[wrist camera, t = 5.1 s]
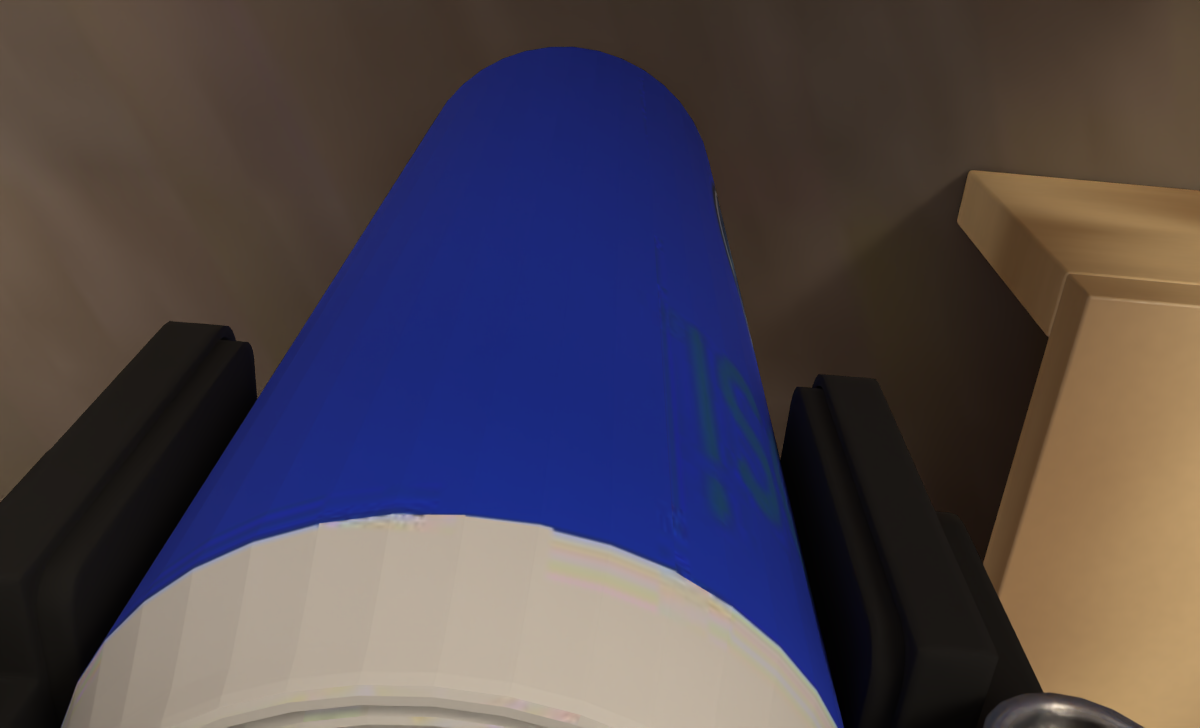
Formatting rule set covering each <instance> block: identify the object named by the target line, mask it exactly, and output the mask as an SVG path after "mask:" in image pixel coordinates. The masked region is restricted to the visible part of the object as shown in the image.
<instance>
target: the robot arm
mask: <svg viewBox="0 0 1200 728" xmlns="http://www.w3.org/2000/svg"><path fill="white" fill-rule="evenodd" d="M256 400H257V392H256V379H255V365H254V355H253V350H252V347H251V345H250V344H249V342H241V341H236V340H235V336H234V334H233V331H232V330H231V328H230V327H229V326H222V325H209V324H197V323H185V322H173V321H169V322H168V323H166V324H165V325H164V326H163V327H162V328H161V329H160V330H159V331H158V332H157V333H156V334H155V335H154V337H153V338H152V339H151V340H150V341H149V342H148V343H147V344H146V345H145V346H144V347H143V349H142V350H141V351H140V352H139V353H138V354H137V355H136V356H135V357H134V358H133V360H132V361H131V362H130V363H129V364H128V365H127V366H126V367H125V368H124V369H123V370H122V372H121V373H120V374H119V375H118V376H117V377H116V378H115V379H114V380H113V381H112V382H111V384H110V385H109V386H108V387H107V388H106V389H105V390H104V391H103V392H102V393H101V395H100V396H99V397H98V398H97V399H96V400H95V401H94V402H93V403H92V404H91V405H90V407H89V408H88V409H87V410H86V411H85V412H84V413H83V414H82V415H81V416H80V417H79V419H78V420H77V421H76V422H75V423H74V424H73V425H72V426H71V427H70V428H69V430H68V431H67V432H66V433H65V434H64V435H63V436H62V437H61V438H60V439H59V440H58V442H57V443H56V444H55V445H54V446H53V447H52V448H51V449H50V450H49V451H48V452H46V453H45V455H44V456H43V457H42V458H41V459H40V460H39V461H38V462H37V463H36V464H35V465H34V467H33V468H32V469H31V470H30V471H29V472H28V473H27V474H26V475H25V476H24V477H23V479H22V480H21V481H20V482H19V483H18V484H17V485H16V486H15V487H14V488H13V489H12V491H11V492H10V493H9V494H8V495H7V496H6V497H5V498H4V499H3V500H2V501H1V503H0V728H61V725H62V723H63V720H64V717H65V714H66V712H67V709H68V706H69V704H70V701H71V698H72V696H73V693H74V690H75V687H76V685H77V682H78V680H79V678H80V677H81V675H82V674H83V672H84V670H85V669H86V667H87V666H88V664H89V663H90V661H91V659H92V658H93V656H94V655H95V653H96V652H97V650H98V648H99V647H100V645H101V644H102V642H103V641H104V639H105V638H106V636H107V634H108V633H109V631H110V630H111V628H112V627H113V625H114V623H115V622H116V620H117V619H118V617H119V616H120V614H121V612H122V611H123V609H124V608H125V606H126V605H127V603H128V601H129V600H130V598H131V597H132V595H133V594H134V592H135V590H136V589H137V587H138V586H139V584H140V583H141V581H142V579H143V578H144V576H145V575H146V573H147V572H148V570H149V568H150V567H151V565H152V564H153V562H154V561H155V559H156V557H157V556H158V554H159V553H160V551H161V550H162V548H163V546H164V545H165V543H166V542H167V540H168V539H169V537H170V535H171V534H172V532H173V531H174V529H175V528H176V526H177V524H178V523H179V521H180V520H181V518H182V517H183V515H184V513H185V512H186V510H187V509H188V507H189V506H190V504H191V502H192V501H193V499H194V498H195V496H196V495H197V493H198V491H199V490H200V488H201V487H202V485H203V484H204V482H205V481H206V479H207V477H208V476H209V474H210V473H211V471H212V470H213V468H214V466H215V465H216V463H217V462H218V460H219V459H220V457H221V455H222V454H223V452H224V451H225V449H226V448H227V446H228V444H229V443H230V441H231V440H232V438H233V437H234V435H235V433H236V432H237V430H238V429H239V427H240V426H241V424H242V422H243V421H244V419H245V418H246V416H247V415H248V413H249V411H250V410H251V408H252V407H253V405H254V404H255V402H256ZM780 461H781V466H782V470H783V474H784V478H785V482H786V487H787V491H788V495H789V499H790V503H791V508H792V512H793V516H794V520H795V524H796V529H797V533H798V537H799V541H800V545H801V550H802V554H803V558H804V562H805V566H806V571H807V575H808V579H809V583H810V587H811V591H812V596H813V600H814V604H815V608H816V612H817V617H818V621H819V625H820V629H821V633H822V638H823V642H824V646H825V650H826V654H827V659H828V663H829V667H830V671H831V675H832V680H833V684H834V688H835V692H836V696H837V701H838V705H839V709H840V713H841V717H842V721H843V726H844V728H1144V727H1143V726H1141V725H1139V724H1138V723H1136V722H1134V721H1132V720H1131V719H1129V718H1127V717H1126V716H1124V715H1122V714H1120V713H1119V712H1117V711H1115V710H1113V709H1111V708H1108V707H1105V706H1103V705H1100V704H1097V703H1095V702H1092V701H1089V700H1086V699H1084V698H1080V697H1075V696H1069V695H1063V694H1058V693H1052V692H1046V693H1044V692H1043V690H1042V688H1041V686H1040V684H1039V682H1038V679H1037V677H1036V675H1035V673H1034V671H1033V669H1032V667H1031V665H1030V663H1029V660H1028V658H1027V656H1026V654H1025V652H1024V650H1023V648H1022V646H1021V644H1020V641H1019V639H1018V637H1017V635H1016V633H1015V631H1014V629H1013V627H1012V625H1011V622H1010V620H1009V618H1008V616H1007V614H1006V612H1005V610H1004V608H1003V606H1002V603H1001V601H1000V599H999V597H998V595H997V593H996V591H995V589H994V587H993V584H992V582H991V580H990V578H989V576H988V574H987V572H986V570H985V568H984V565H983V563H982V561H981V559H980V557H979V555H978V553H977V551H976V549H975V546H974V544H973V542H972V540H971V538H970V536H969V534H968V532H967V530H966V527H965V525H964V524H963V522H962V521H961V519H960V518H959V517H958V516H957V515H955V514H953V513H948V512H935V510H934V508H933V506H932V504H931V501H930V499H929V497H928V494H927V492H926V490H925V488H924V485H923V483H922V481H921V479H920V476H919V474H918V472H917V469H916V467H915V465H914V463H913V460H912V458H911V456H910V454H909V451H908V449H907V447H906V445H905V442H904V440H903V438H902V435H901V433H900V431H899V429H898V426H897V424H896V422H895V420H894V417H893V415H892V413H891V410H890V408H889V406H888V404H887V401H886V399H885V397H884V395H883V392H882V390H881V388H880V386H879V383H878V382H877V380H876V379H871V378H859V377H846V376H834V375H822V374H819V375H818V376H817V377H816V379H815V381H814V384H813V387H812V388H806V387H796V389H795V390H794V393H793V396H792V401H791V405H790V411H789V416H788V422H787V427H786V433H785V438H784V444H783V449H782V455H781V460H780Z"/></svg>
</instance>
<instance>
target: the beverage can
mask: <svg viewBox="0 0 1200 728" xmlns="http://www.w3.org/2000/svg"><path fill="white" fill-rule="evenodd" d="M61 728H844V726H843V721H842V717H841V713H840V709H839V705H838V701H837V696H836V692H835V688H834V684H833V680H832V675H831V671H830V667H829V663H828V659H827V654H826V650H825V646H824V642H823V638H822V633H821V629H820V625H819V621H818V617H817V612H816V608H815V604H814V600H813V596H812V591H811V587H810V583H809V579H808V575H807V571H806V566H805V562H804V558H803V554H802V550H801V545H800V541H799V537H798V533H797V529H796V524H795V520H794V516H793V512H792V508H791V503H790V499H789V495H788V491H787V487H786V482H785V478H784V474H783V470H782V466H781V461H780V457H779V453H778V449H777V445H776V441H775V436H774V432H773V428H772V424H771V420H770V415H769V411H768V407H767V403H766V399H765V394H764V390H763V386H762V382H761V378H760V373H759V369H758V365H757V361H756V357H755V352H754V348H753V344H752V340H751V336H750V331H749V327H748V323H747V319H746V315H745V311H744V306H743V302H742V298H741V294H740V290H739V285H738V281H737V277H736V273H735V269H734V264H733V260H732V256H731V252H730V248H729V243H728V239H727V235H726V231H725V227H724V222H723V218H722V214H721V210H720V206H719V201H718V197H717V193H716V189H715V185H714V181H713V176H712V172H711V168H710V164H709V160H708V157H707V153H706V150H705V147H704V143H703V141H702V138H701V136H700V134H699V132H698V130H697V128H696V126H695V124H694V122H693V120H692V119H691V117H690V116H689V114H688V113H687V111H686V110H685V109H684V107H683V106H682V104H681V103H680V101H679V100H678V99H677V98H676V97H675V96H674V95H673V94H672V93H671V92H670V91H669V90H668V89H667V88H666V87H665V86H664V85H663V84H662V83H660V82H659V81H658V80H656V79H655V78H654V77H652V76H651V75H650V74H648V73H647V72H646V71H644V70H643V69H641V68H639V67H637V66H635V65H633V64H631V63H629V62H627V61H625V60H623V59H621V58H618V57H615V56H612V55H609V54H606V53H603V52H600V51H596V50H590V49H584V48H577V47H547V48H541V49H535V50H529V51H524V52H521V53H518V54H515V55H512V56H509V57H506V58H503V59H501V60H499V61H498V62H496V63H494V64H492V65H490V66H488V67H486V68H485V69H483V70H481V71H480V72H478V73H477V74H476V75H475V76H473V77H472V78H471V79H469V80H468V81H467V82H466V83H464V84H463V85H462V86H461V87H460V88H459V89H458V90H457V91H456V93H455V94H454V95H453V96H452V97H451V98H450V99H449V100H448V101H447V103H446V104H445V106H444V107H443V109H442V110H441V112H440V113H439V115H438V116H437V118H436V119H435V121H434V123H433V124H432V126H431V127H430V129H429V130H428V132H427V134H426V135H425V137H424V138H423V140H422V141H421V143H420V145H419V146H418V148H417V149H416V151H415V152H414V154H413V155H412V157H411V159H410V160H409V162H408V163H407V165H406V166H405V168H404V170H403V171H402V173H401V174H400V176H399V177H398V179H397V181H396V182H395V184H394V185H393V187H392V188H391V190H390V192H389V193H388V195H387V196H386V198H385V199H384V201H383V203H382V204H381V206H380V207H379V209H378V210H377V212H376V214H375V215H374V217H373V218H372V220H371V221H370V223H369V225H368V226H367V228H366V229H365V231H364V232H363V234H362V236H361V237H360V239H359V240H358V242H357V243H356V245H355V247H354V248H353V250H352V251H351V253H350V254H349V256H348V258H347V259H346V261H345V262H344V264H343V265H342V267H341V269H340V270H339V272H338V273H337V275H336V276H335V278H334V280H333V281H332V283H331V284H330V286H329V287H328V289H327V291H326V292H325V294H324V295H323V297H322V298H321V300H320V302H319V303H318V305H317V306H316V308H315V309H314V311H313V313H312V314H311V316H310V317H309V319H308V320H307V322H306V323H305V325H304V327H303V328H302V330H301V331H300V333H299V334H298V336H297V338H296V339H295V341H294V342H293V344H292V345H291V347H290V349H289V350H288V352H287V353H286V355H285V356H284V358H283V360H282V361H281V363H280V364H279V366H278V367H277V369H276V371H275V372H274V374H273V375H272V377H271V378H270V380H269V382H268V383H267V385H266V386H265V388H264V389H263V391H262V393H261V394H260V396H259V397H258V399H257V400H256V402H255V404H254V405H253V407H252V408H251V410H250V411H249V413H248V415H247V416H246V418H245V419H244V421H243V422H242V424H241V426H240V427H239V429H238V430H237V432H236V433H235V435H234V437H233V438H232V440H231V441H230V443H229V444H228V446H227V448H226V449H225V451H224V452H223V454H222V455H221V457H220V459H219V460H218V462H217V463H216V465H215V466H214V468H213V470H212V471H211V473H210V474H209V476H208V477H207V479H206V481H205V482H204V484H203V485H202V487H201V488H200V490H199V491H198V493H197V495H196V496H195V498H194V499H193V501H192V502H191V504H190V506H189V507H188V509H187V510H186V512H185V513H184V515H183V517H182V518H181V520H180V521H179V523H178V524H177V526H176V528H175V529H174V531H173V532H172V534H171V535H170V537H169V539H168V540H167V542H166V543H165V545H164V546H163V548H162V550H161V551H160V553H159V554H158V556H157V557H156V559H155V561H154V562H153V564H152V565H151V567H150V568H149V570H148V572H147V573H146V575H145V576H144V578H143V579H142V581H141V583H140V584H139V586H138V587H137V589H136V590H135V592H134V594H133V595H132V597H131V598H130V600H129V601H128V603H127V605H126V606H125V608H124V609H123V611H122V612H121V614H120V616H119V617H118V619H117V620H116V622H115V623H114V625H113V627H112V628H111V630H110V631H109V633H108V634H107V636H106V638H105V639H104V641H103V642H102V644H101V645H100V647H99V648H98V650H97V652H96V653H95V655H94V656H93V658H92V659H91V661H90V663H89V664H88V666H87V667H86V669H85V670H84V672H83V674H82V675H81V677H80V678H79V680H78V682H77V685H76V687H75V690H74V693H73V696H72V698H71V701H70V704H69V706H68V709H67V712H66V714H65V717H64V720H63V723H62V725H61Z"/></svg>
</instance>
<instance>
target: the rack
mask: <svg viewBox="0 0 1200 728" xmlns="http://www.w3.org/2000/svg"><path fill="white" fill-rule="evenodd" d="M957 223H958V224H959V226H960V227H961V228H962V229H963V231H964V232H965V233H966V234H967V236H968V237H969V238H970V240H971V241H972V242H973V243H974V245H975V246H976V247H977V248H978V250H979V251H980V252H981V253H982V255H983V256H984V257H985V258H986V260H987V261H988V262H989V264H990V265H991V266H992V267H993V269H994V270H995V271H996V272H997V274H998V275H999V276H1000V277H1001V279H1002V280H1003V281H1004V282H1005V284H1006V285H1007V286H1008V287H1009V289H1010V290H1011V291H1012V293H1013V294H1014V295H1015V296H1016V298H1017V299H1018V300H1019V301H1020V303H1021V304H1022V305H1023V306H1024V308H1025V309H1026V310H1027V311H1028V313H1029V314H1030V315H1031V317H1032V318H1033V319H1034V320H1035V322H1036V323H1037V324H1038V325H1039V327H1040V328H1041V329H1042V330H1043V332H1044V333H1045V334H1046V335H1047V336H1048V337H1049V339H1048V343H1047V346H1046V349H1045V353H1044V356H1043V360H1042V363H1041V367H1040V370H1039V374H1038V377H1037V380H1036V384H1035V387H1034V391H1033V394H1032V398H1031V401H1030V404H1029V408H1028V411H1027V415H1026V418H1025V422H1024V425H1023V428H1022V432H1021V435H1020V439H1019V442H1018V446H1017V449H1016V452H1015V456H1014V459H1013V463H1012V466H1011V470H1010V473H1009V477H1008V480H1007V483H1006V487H1005V490H1004V494H1003V497H1002V501H1001V504H1000V507H999V511H998V514H997V518H996V521H995V525H994V528H993V531H992V535H991V538H990V542H989V545H988V549H987V552H986V555H985V559H984V562H983V565H984V568H985V570H986V572H987V574H988V576H989V578H990V580H991V582H992V584H993V587H994V589H995V591H996V593H997V595H998V597H999V599H1000V601H1001V603H1002V606H1003V608H1004V610H1005V612H1006V614H1007V616H1008V618H1009V620H1010V622H1011V625H1012V627H1013V629H1014V631H1015V633H1016V635H1017V637H1018V639H1019V641H1020V644H1021V646H1022V648H1023V650H1024V652H1025V654H1026V656H1027V658H1028V660H1029V663H1030V665H1031V667H1032V669H1033V671H1034V673H1035V675H1036V677H1037V679H1038V682H1039V684H1040V686H1041V688H1042V690H1043V692H1044V693H1046V692H1052V693H1058V694H1063V695H1069V696H1075V697H1080V698H1084V699H1086V700H1089V701H1092V702H1095V703H1097V704H1100V705H1103V706H1105V707H1108V708H1111V709H1113V710H1115V711H1117V712H1119V713H1120V714H1122V715H1124V716H1126V717H1127V718H1129V719H1131V720H1132V721H1134V722H1136V723H1138V724H1139V725H1141V726H1143V727H1144V728H1200V191H1198V190H1187V189H1176V188H1165V187H1154V186H1142V185H1131V184H1120V183H1109V182H1098V181H1087V180H1076V179H1065V178H1054V177H1043V176H1032V175H1020V174H1009V173H998V172H987V171H976V170H972V171H969V173H968V176H967V181H966V185H965V189H964V193H963V198H962V202H961V206H960V210H959V214H958V219H957Z"/></svg>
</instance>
